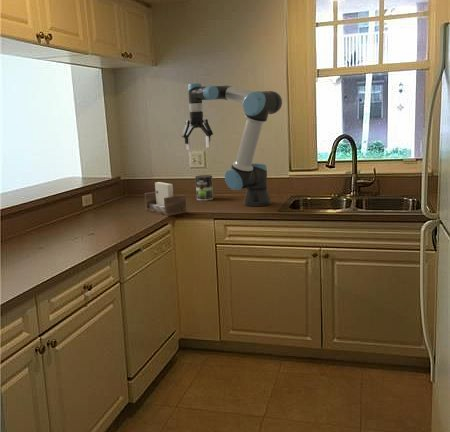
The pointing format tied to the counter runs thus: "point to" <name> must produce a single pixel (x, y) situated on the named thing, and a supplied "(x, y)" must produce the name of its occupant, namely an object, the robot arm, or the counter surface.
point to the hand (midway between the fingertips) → (198, 148)
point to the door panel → (163, 192)
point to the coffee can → (204, 187)
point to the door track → (165, 204)
